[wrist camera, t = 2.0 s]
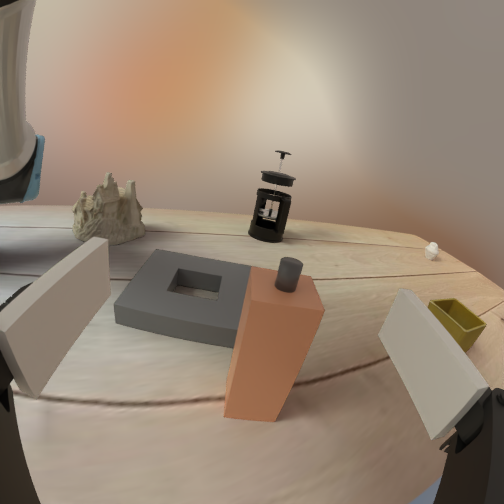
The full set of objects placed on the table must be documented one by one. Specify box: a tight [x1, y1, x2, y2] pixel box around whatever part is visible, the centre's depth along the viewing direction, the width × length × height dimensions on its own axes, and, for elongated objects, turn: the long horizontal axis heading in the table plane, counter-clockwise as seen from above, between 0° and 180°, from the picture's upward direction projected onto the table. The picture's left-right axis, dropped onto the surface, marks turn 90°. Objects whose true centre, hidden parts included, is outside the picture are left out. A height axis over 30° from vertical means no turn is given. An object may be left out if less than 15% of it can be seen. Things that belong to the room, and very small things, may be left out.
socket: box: [114, 249, 254, 348], centre depth 40 cm, size 18×18×3 cm
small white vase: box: [425, 242, 439, 260], centre depth 89 cm, size 6×6×7 cm
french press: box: [248, 151, 296, 243], centre depth 69 cm, size 12×9×23 cm
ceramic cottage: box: [72, 172, 145, 246], centre depth 54 cm, size 16×16×15 cm
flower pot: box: [428, 298, 487, 353], centre depth 34 cm, size 9×9×9 cm
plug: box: [224, 257, 325, 422], centre depth 22 cm, size 5×5×16 cm
